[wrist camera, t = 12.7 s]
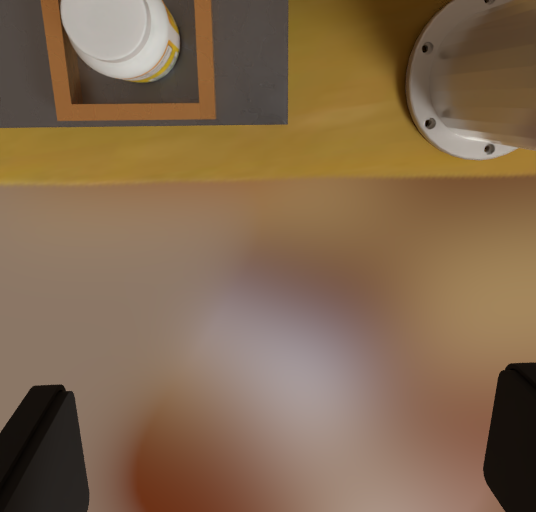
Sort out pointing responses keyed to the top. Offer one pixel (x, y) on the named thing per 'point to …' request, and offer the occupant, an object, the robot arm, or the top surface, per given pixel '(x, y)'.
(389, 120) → the top surface
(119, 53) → the supplement bottle
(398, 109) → the top surface
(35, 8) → the gray brown rimmed box
